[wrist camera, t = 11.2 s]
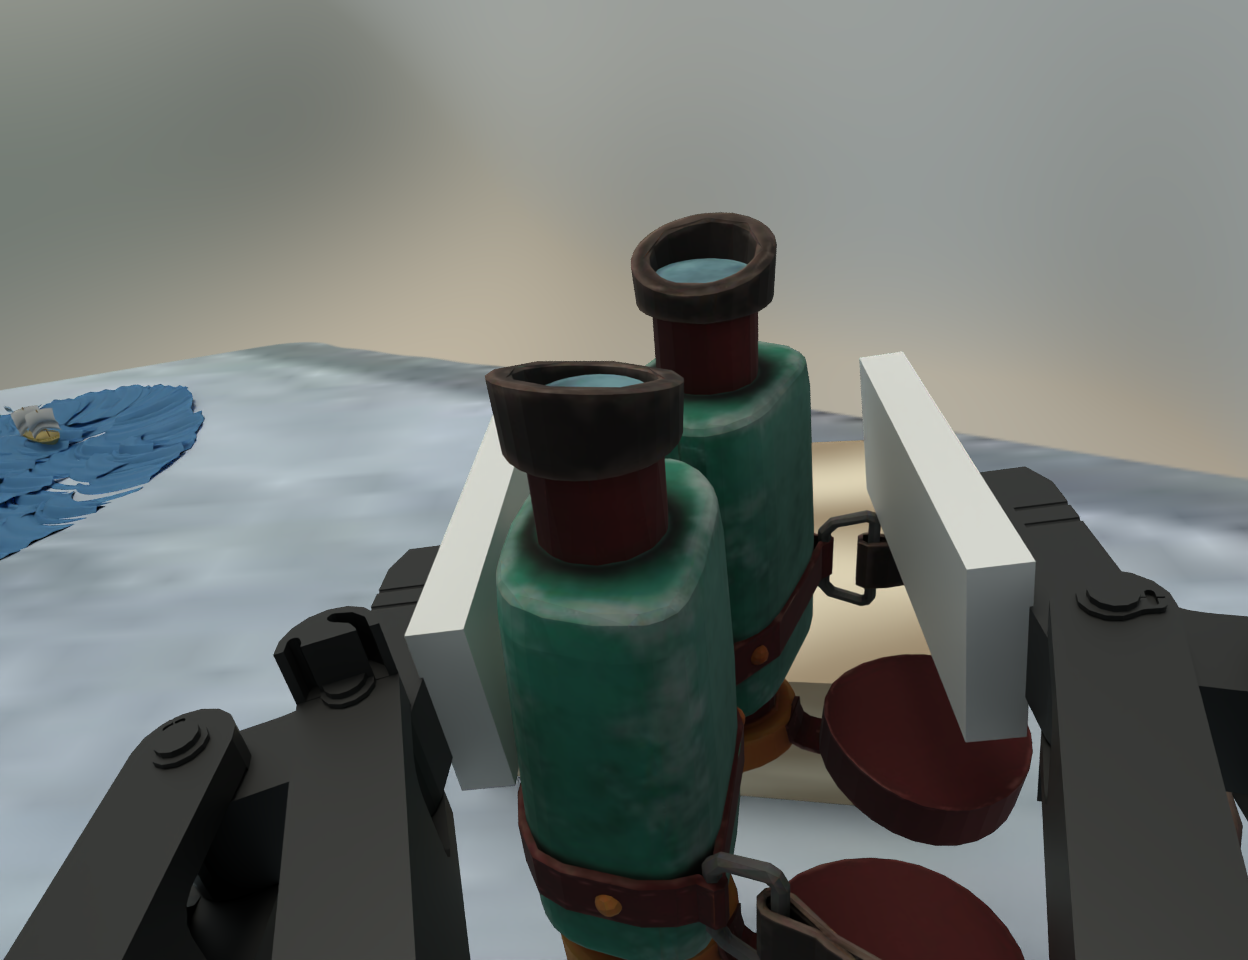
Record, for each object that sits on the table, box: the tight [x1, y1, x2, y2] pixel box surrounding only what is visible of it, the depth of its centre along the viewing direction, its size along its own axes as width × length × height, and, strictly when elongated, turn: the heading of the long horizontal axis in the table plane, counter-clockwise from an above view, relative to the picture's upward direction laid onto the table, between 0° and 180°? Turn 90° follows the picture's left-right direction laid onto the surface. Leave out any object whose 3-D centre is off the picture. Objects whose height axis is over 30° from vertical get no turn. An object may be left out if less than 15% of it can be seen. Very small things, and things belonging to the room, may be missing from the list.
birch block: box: [517, 440, 931, 805], centre depth 32 cm, size 14×14×5 cm
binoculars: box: [485, 212, 1243, 960], centre depth 13 cm, size 9×11×10 cm
